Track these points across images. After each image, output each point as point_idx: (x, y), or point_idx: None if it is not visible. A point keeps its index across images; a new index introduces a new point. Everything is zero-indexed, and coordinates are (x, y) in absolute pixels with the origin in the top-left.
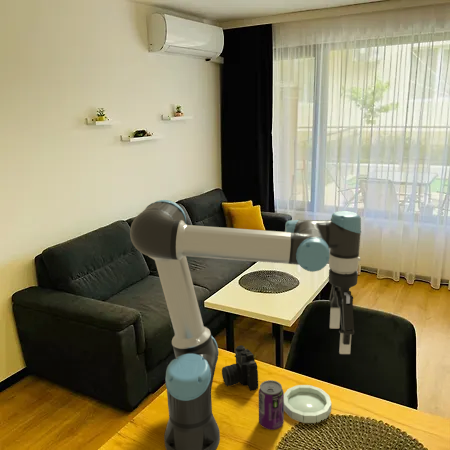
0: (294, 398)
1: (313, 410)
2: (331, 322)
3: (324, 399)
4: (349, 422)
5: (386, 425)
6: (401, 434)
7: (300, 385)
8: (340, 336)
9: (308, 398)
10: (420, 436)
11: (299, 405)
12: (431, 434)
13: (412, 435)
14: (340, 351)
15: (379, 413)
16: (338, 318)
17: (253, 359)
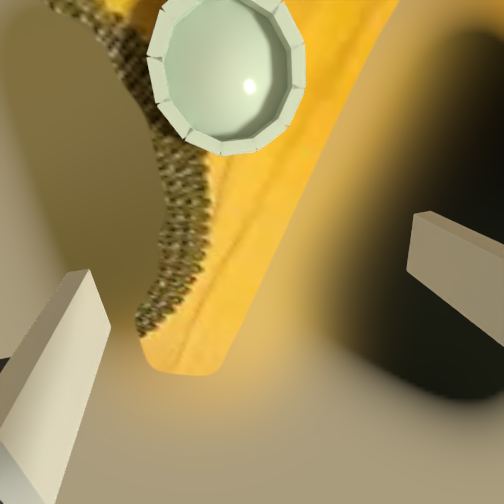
0: (253, 30)
1: (202, 97)
2: (446, 239)
3: (253, 135)
4: (180, 198)
5: (186, 279)
6: (163, 305)
7: (303, 52)
8: (14, 375)
9: (257, 82)
10: (165, 336)
11: (220, 48)
12: (176, 354)
13: (165, 323)
14: (63, 285)
15: (226, 269)
16: (464, 304)
17: None
